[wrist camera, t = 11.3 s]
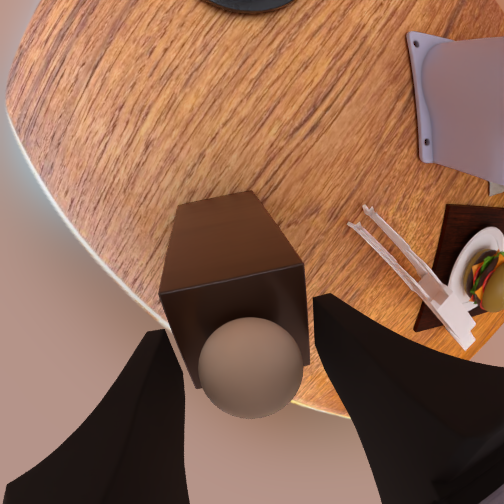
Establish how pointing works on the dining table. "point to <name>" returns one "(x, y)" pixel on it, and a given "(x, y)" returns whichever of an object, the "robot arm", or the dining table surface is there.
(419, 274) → the white flat pronged piece
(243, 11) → the lid
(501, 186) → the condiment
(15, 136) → the dining table surface
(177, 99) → the dining table surface
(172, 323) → the stand
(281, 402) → the beige sphere
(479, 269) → the hamburger
